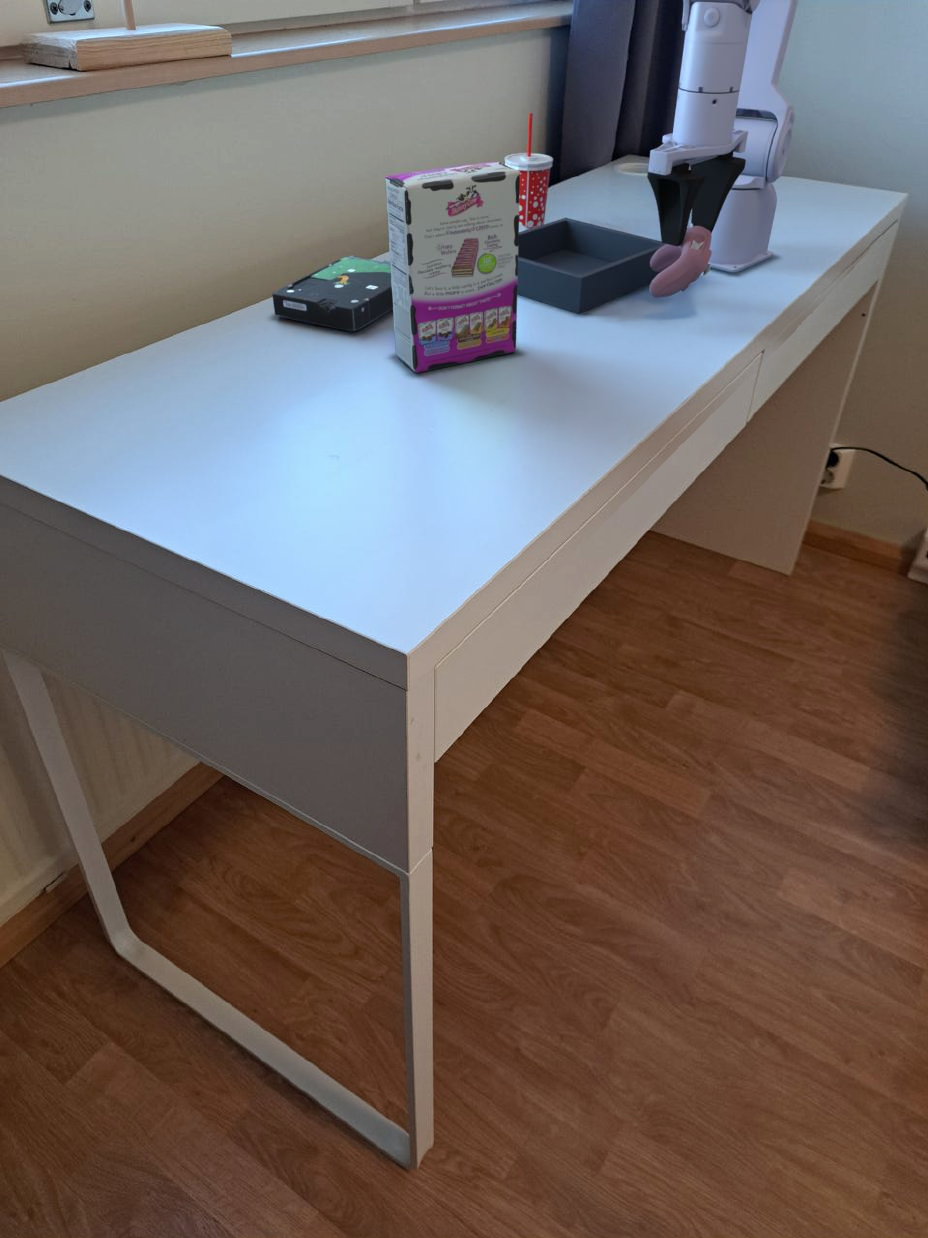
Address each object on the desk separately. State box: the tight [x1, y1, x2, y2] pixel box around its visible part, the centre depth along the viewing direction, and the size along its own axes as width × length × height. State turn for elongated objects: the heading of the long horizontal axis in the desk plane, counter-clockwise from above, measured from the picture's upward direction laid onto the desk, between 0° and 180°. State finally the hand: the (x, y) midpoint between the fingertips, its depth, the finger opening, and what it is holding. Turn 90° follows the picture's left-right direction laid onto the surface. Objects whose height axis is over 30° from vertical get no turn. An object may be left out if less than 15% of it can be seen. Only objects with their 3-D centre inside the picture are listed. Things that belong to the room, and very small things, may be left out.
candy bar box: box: [384, 161, 520, 373], centre depth 84 cm, size 11×5×16 cm, turn 117°
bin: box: [517, 217, 666, 315], centre depth 106 cm, size 17×16×4 cm
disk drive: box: [271, 255, 393, 332], centre depth 99 cm, size 10×3×15 cm
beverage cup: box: [504, 112, 554, 232], centre depth 117 cm, size 6×6×14 cm
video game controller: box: [648, 223, 712, 299], centre depth 96 cm, size 10×5×7 cm, turn 171°
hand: (687, 237), depth 95 cm, fingers closed on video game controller, 5 cm apart
